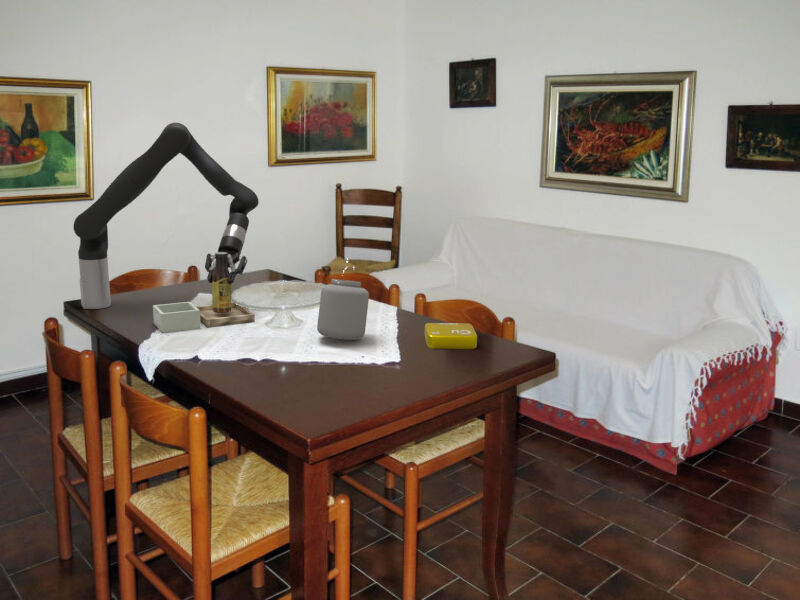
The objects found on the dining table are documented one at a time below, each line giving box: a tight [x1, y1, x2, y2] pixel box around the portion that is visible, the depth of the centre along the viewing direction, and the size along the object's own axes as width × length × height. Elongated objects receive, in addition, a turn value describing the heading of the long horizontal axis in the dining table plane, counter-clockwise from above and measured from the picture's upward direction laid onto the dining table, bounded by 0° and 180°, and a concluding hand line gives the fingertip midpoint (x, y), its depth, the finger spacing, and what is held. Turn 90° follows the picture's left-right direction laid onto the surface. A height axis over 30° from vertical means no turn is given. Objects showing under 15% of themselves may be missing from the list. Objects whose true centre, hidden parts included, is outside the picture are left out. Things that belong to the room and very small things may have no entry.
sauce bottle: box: [211, 251, 232, 313], centre depth 253 cm, size 6×6×20 cm
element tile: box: [424, 322, 478, 350], centre depth 236 cm, size 15×15×5 cm
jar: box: [316, 258, 370, 340], centre depth 234 cm, size 19×15×25 cm
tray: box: [196, 302, 256, 328], centre depth 256 cm, size 16×18×2 cm
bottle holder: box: [152, 301, 202, 334], centre depth 245 cm, size 12×12×6 cm
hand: (219, 282), depth 252 cm, fingers closed on sauce bottle, 6 cm apart
